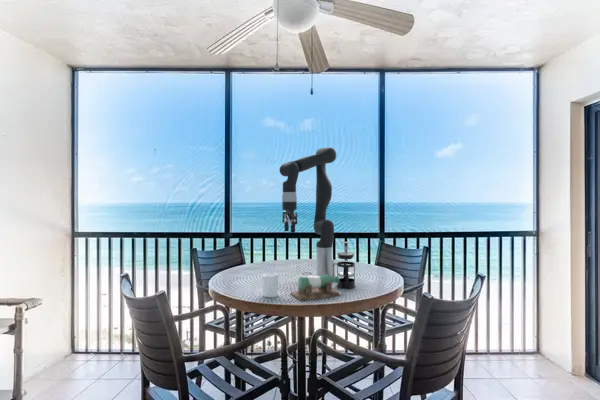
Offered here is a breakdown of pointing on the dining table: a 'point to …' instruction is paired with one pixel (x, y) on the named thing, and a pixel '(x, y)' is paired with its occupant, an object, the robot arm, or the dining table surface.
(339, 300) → the dining table surface
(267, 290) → the white cup
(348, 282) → the french press
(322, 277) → the green bottle
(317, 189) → the robot arm
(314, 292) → the bottle rest
